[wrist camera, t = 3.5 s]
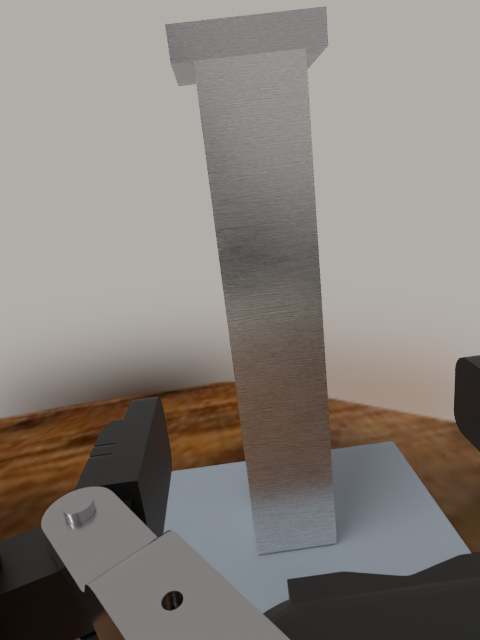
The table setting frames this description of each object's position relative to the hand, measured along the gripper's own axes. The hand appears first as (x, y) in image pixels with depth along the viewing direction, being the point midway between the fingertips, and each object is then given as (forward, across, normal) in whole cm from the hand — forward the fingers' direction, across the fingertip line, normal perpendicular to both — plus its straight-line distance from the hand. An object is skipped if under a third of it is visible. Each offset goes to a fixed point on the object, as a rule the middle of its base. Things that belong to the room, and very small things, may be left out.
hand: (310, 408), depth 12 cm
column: (+9, 0, +12) cm, 15 cm away
